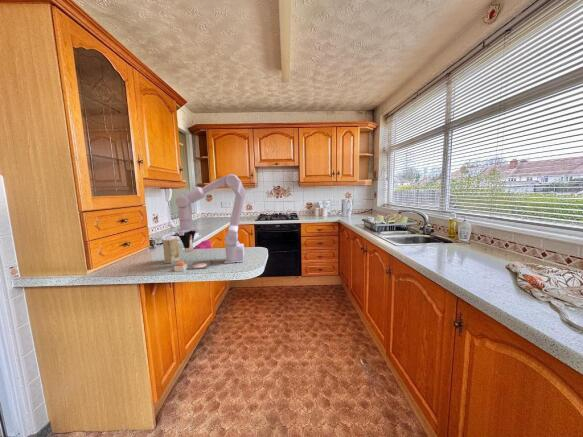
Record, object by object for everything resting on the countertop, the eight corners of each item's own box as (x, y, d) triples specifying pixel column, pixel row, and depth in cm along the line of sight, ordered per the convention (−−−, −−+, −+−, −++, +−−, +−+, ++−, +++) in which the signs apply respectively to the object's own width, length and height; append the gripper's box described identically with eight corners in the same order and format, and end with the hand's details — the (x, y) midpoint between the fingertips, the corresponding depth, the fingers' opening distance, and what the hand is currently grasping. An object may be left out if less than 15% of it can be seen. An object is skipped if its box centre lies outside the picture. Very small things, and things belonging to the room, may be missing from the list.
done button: (184, 264, 111) (184, 260, 110) (182, 266, 108) (182, 262, 108) (178, 265, 111) (178, 261, 110) (176, 267, 108) (176, 263, 107)
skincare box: (171, 263, 119) (169, 240, 117) (164, 263, 120) (161, 240, 118) (180, 259, 125) (177, 237, 124) (173, 259, 126) (170, 237, 125)
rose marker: (194, 249, 117) (193, 234, 116) (191, 252, 113) (190, 236, 112) (186, 250, 117) (184, 234, 116) (183, 252, 113) (181, 236, 112)
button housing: (187, 267, 112) (186, 263, 111) (183, 270, 108) (183, 266, 107) (178, 268, 111) (177, 263, 111) (174, 271, 107) (174, 266, 107)
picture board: (212, 261, 120) (212, 260, 120) (206, 268, 110) (206, 267, 109) (194, 262, 119) (194, 261, 119) (187, 269, 109) (186, 268, 109)
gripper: (183, 218, 120) (186, 243, 122) (170, 222, 105) (174, 251, 107) (197, 217, 120) (199, 242, 122) (186, 221, 106) (189, 250, 108)
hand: (188, 246), depth 115 cm, fingers closed on rose marker, 4 cm apart
